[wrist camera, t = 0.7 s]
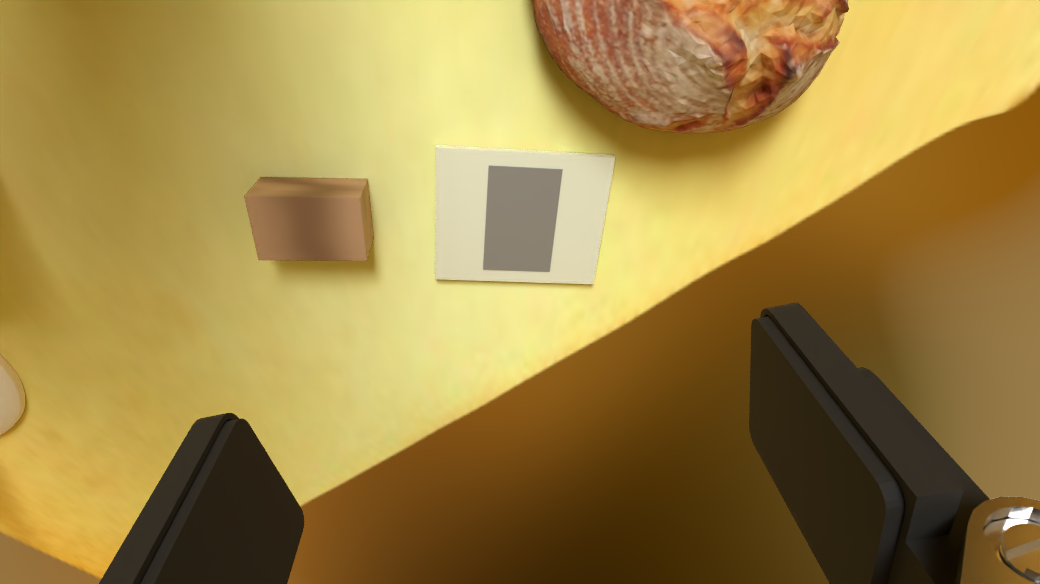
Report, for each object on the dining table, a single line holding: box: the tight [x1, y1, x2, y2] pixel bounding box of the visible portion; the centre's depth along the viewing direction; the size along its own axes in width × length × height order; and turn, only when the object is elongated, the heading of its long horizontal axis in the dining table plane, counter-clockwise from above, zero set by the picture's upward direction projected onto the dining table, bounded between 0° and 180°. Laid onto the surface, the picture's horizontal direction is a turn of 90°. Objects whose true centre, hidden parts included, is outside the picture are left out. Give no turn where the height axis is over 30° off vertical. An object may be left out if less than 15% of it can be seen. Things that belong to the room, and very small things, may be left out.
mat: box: [435, 145, 615, 284], centre depth 41 cm, size 12×10×1 cm
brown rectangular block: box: [244, 177, 374, 261], centre depth 38 cm, size 7×4×4 cm, turn 87°
